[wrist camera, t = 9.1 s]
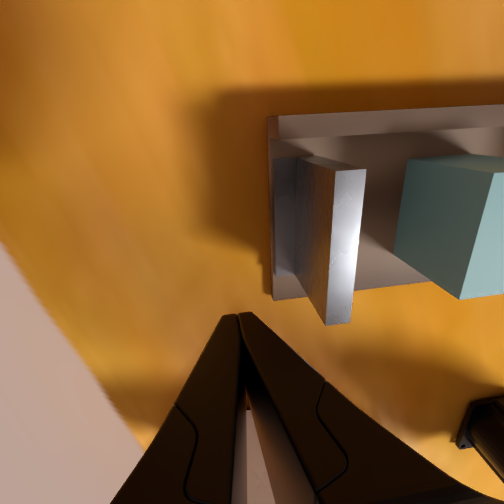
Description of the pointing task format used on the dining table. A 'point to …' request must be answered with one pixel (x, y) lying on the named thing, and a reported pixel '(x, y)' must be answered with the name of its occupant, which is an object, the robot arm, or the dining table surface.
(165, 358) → the dining table surface
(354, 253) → the bookend
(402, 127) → the shelf board
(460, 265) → the teal block
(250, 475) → the photo printer
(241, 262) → the dining table surface
